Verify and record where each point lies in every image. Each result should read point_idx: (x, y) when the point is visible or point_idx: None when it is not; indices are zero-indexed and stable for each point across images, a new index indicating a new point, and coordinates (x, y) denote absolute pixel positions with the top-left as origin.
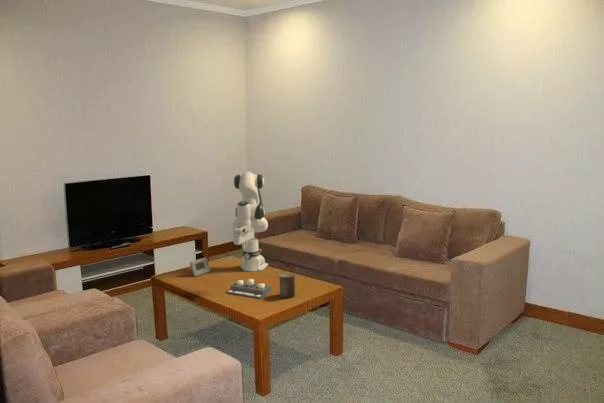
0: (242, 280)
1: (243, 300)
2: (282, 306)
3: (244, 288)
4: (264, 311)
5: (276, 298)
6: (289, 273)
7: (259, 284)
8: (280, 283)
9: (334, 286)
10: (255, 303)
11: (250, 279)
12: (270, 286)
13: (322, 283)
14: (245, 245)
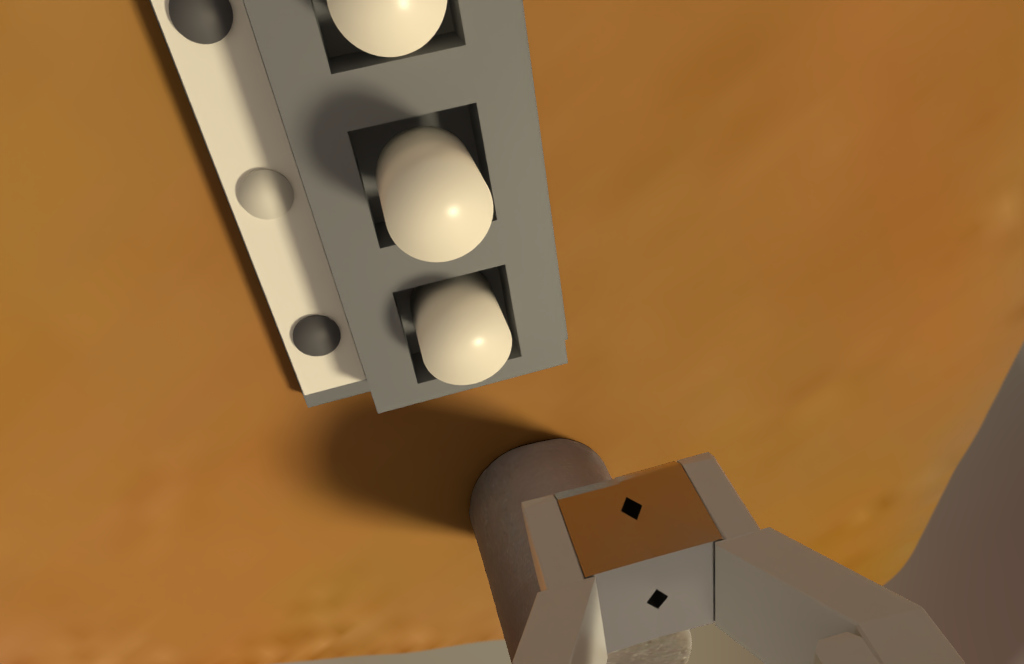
0: (438, 10)
1: (127, 296)
2: (308, 617)
3: (300, 172)
4: (103, 610)
5: (424, 478)
6: (665, 655)
7: (449, 336)
8: (506, 590)
9: (887, 571)
10: (174, 442)
11: (455, 199)
12: (560, 359)
13: (928, 485)
14: (656, 634)
